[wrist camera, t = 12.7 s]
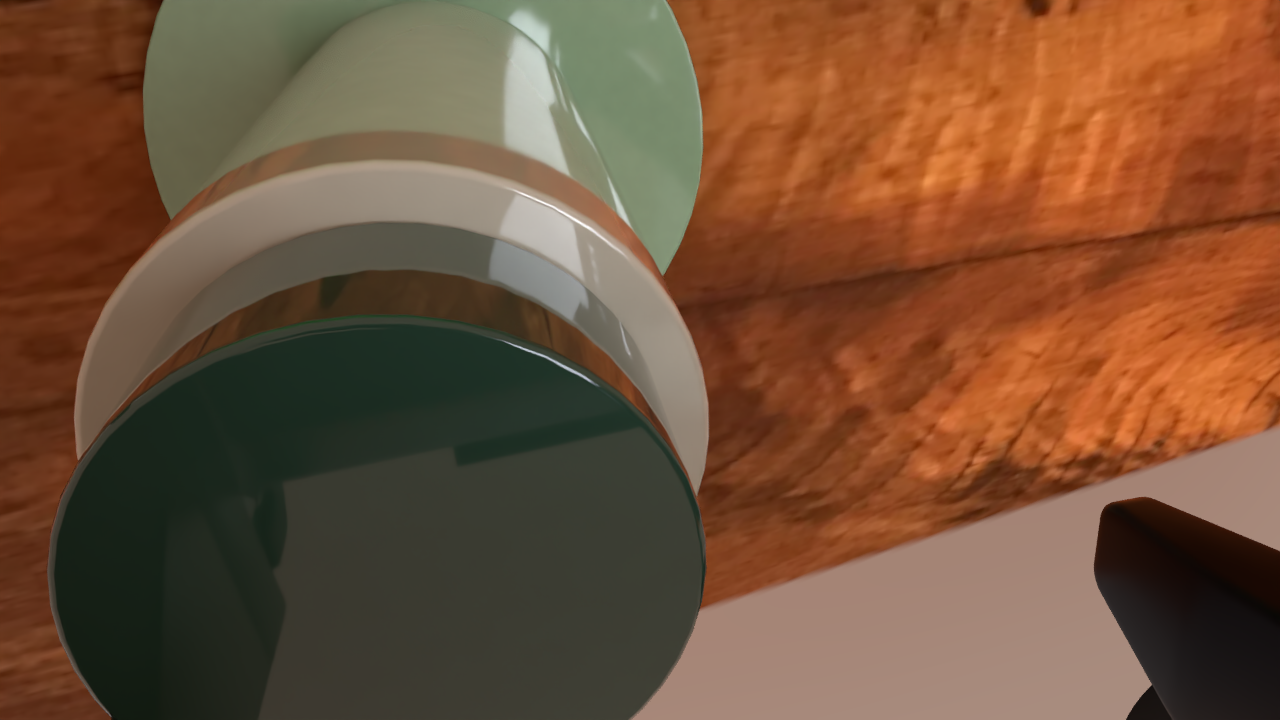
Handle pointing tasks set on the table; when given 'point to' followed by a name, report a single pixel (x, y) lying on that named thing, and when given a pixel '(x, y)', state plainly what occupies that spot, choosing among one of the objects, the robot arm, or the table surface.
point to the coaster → (532, 3)
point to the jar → (390, 413)
